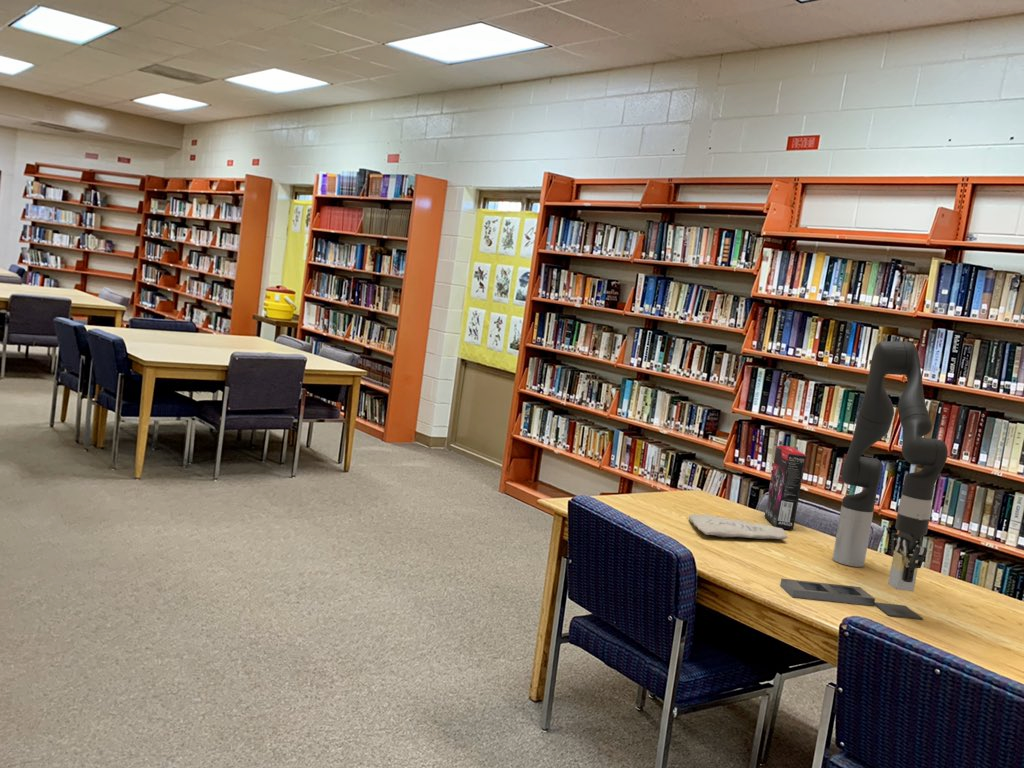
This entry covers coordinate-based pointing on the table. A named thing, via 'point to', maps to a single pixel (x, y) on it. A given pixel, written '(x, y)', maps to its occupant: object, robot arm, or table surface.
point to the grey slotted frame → (827, 592)
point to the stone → (735, 528)
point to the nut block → (900, 573)
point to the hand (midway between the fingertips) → (902, 578)
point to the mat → (897, 611)
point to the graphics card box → (785, 487)
